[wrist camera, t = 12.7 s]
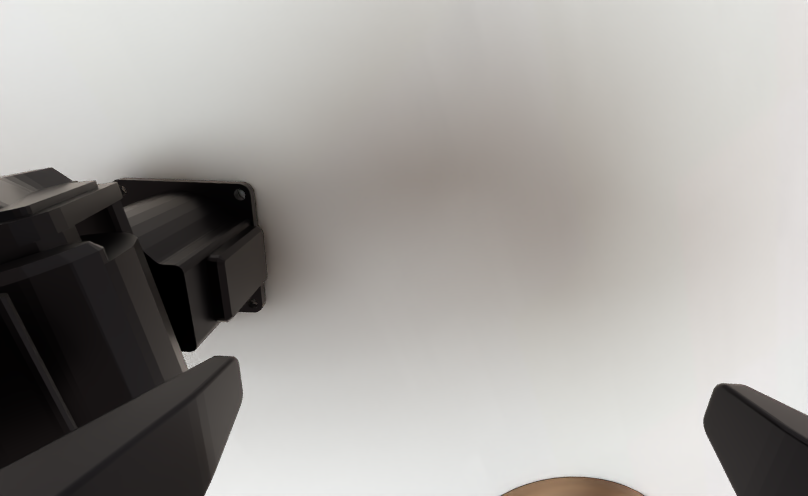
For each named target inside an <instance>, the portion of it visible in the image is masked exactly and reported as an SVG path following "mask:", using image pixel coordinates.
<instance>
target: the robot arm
mask: <svg viewBox="0 0 808 496" xmlns="http://www.w3.org/2000/svg"><path fill="white" fill-rule="evenodd" d="M122 186H124V187H125V188H126V190H127V194H126V193H124V192H123V190H122ZM239 189H240V190H243V191H244V193H245V198H241V197H240V196H239V194H238V190H239ZM266 279H267V268H266V258H265V248H264V238H263V231H262V230H261V228H260V227H259V226H258V225H257V215H256V206H255V196H254V191H253V188H252V187H251V186H250V185H249V184H247V183H245V182H229V181H200V180H171V179H142V178H121V179H118V180H115V181H113V182H112V183H105V184H98V185H97V183H96V180H94V181H84V182H78V181H72V180H70V179H69V178H67V177H66V176H64V175H63V174H61V173H60V172H58V171H56V170H55V169H53V168H45V169H38V170H32V171H27V172H22V173H17V174H12V175H7V176H2V177H0V496H204V495H205V493H206V491H207V489H208V487H209V485H210V483H211V480H212V478H213V476H214V473H215V471H216V468H217V466H218V463H219V461H220V458H221V455H222V453H223V450H224V447H225V445H226V442H227V440H228V437H229V434H230V432H231V429H232V427H233V424H234V421H235V419H236V416H237V414H238V411H239V408H240V406H241V403H242V398H243V389H242V381H241V374H240V367H239V362H238V360H237V359H236V358H235V357H231V356H214V357H212V358H210V359H208V360H206V361H204V362H202V363H200V364H198V365H196V366H195V367H193V368H191V369H189V370H188V368H187V365H186V362H185V360H184V357H183V355H182V352H181V351H183V352H192V351H195V350H196V349H197V347H198V346H199V345H200V344H201V343H202V342H203V341H204V340H205V339H206V337H207V336H208V335H209V334H210V333H211V332H212V331H213V330H214V329H215V328H216V326H217V325H218V324H219V323H220V322H228V321H230V320H231V319H232V318H233V317H234V316H235V315H236V313H237V312H258V311H260V310H261V309H262V307H263V306H264V304H265V291H264V281H265V280H266ZM251 299H254V300H256V301H257V303H258V304H253V303H252V302H251ZM703 424H704V429H705V432H706V434H707V436H708V439H709V441H710V443H711V445H712V447H713V449H714V451H715V453H716V455H717V457H718V459H719V461H720V463H721V465H722V467H723V469H724V471H725V473H726V475H727V477H728V479H729V481H730V483H731V485H732V487H733V489H734V491H735V493H736V495H737V496H808V415H806V414H804V413H802V412H800V411H797V410H795V409H793V408H791V407H789V406H787V405H785V404H783V403H781V402H779V401H777V400H775V399H773V398H771V397H769V396H767V395H765V394H763V393H760V392H758V391H756V390H754V389H752V388H750V387H748V386H746V385H742V384H727V383H721V384H718V385H717V386H716V387H715V388H714V390H713V392H712V395H711V398H710V401H709V404H708V407H707V409H706V412H705V415H704V420H703Z"/></svg>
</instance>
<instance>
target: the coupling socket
mask: <svg viewBox="0 0 808 496" xmlns="http://www.w3.org/2000/svg"><path fill="white" fill-rule="evenodd" d="M502 496H644V495H642V494H640V493H639V492H637V491H635V490H633V489H631V488H628V487H626V486H623V485H620V484H617V483H614V482H610V481H605V480H601V479H594V478H585V477H566V478H554V479H548V480H543V481H538V482H534V483H531V484H527V485H524V486H522V487H519V488H517V489H514V490H512V491H510V492H508V493H506V494H504V495H502Z"/></svg>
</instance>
